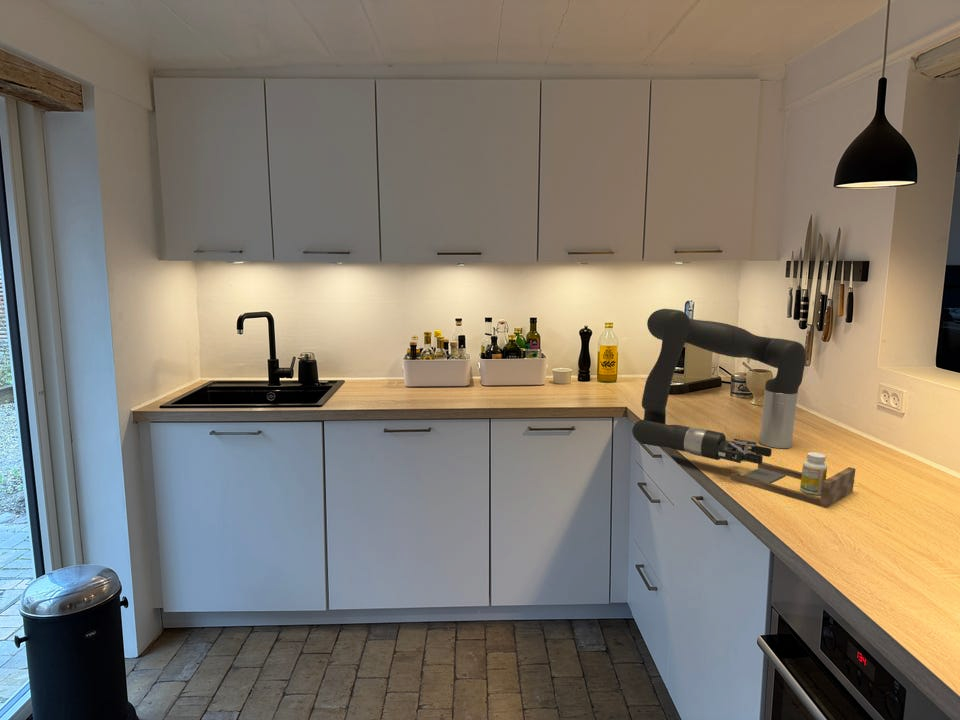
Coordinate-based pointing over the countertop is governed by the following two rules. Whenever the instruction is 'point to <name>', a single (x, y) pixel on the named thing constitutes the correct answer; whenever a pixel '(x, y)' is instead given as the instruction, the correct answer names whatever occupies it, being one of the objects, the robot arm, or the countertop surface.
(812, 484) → the supplement bottle
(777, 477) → the front mat
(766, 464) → the bay
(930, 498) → the countertop surface
